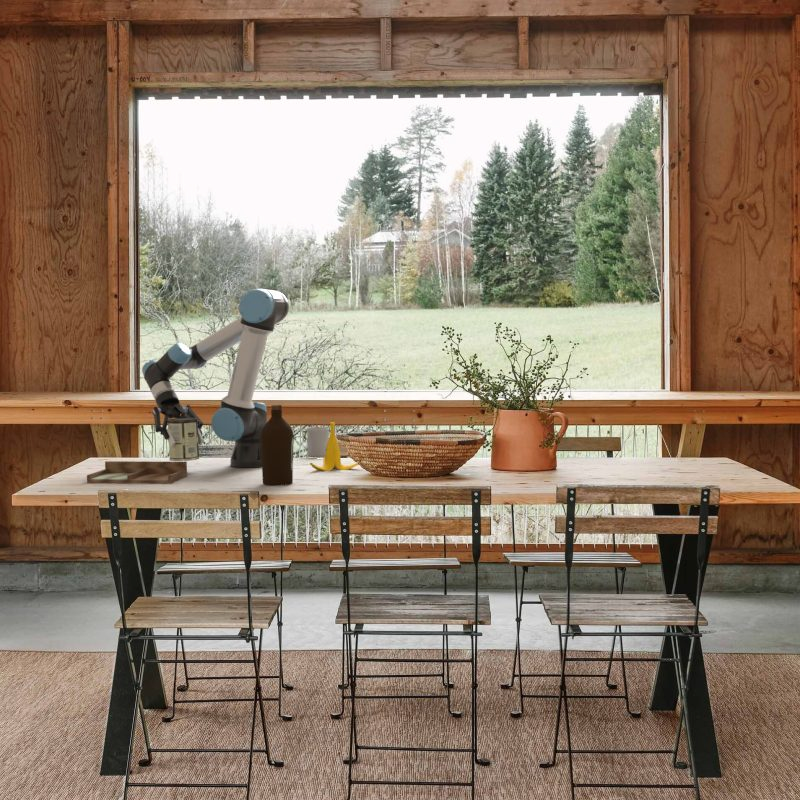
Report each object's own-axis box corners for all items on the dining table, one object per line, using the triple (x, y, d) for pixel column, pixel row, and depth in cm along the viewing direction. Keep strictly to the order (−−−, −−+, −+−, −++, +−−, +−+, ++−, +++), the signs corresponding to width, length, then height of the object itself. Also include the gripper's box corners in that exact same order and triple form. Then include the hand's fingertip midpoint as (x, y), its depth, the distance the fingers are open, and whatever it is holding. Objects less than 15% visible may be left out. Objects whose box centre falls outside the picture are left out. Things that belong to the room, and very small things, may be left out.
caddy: (187, 476, 330) (186, 461, 330) (171, 483, 314) (171, 467, 314) (106, 475, 333) (106, 461, 332) (87, 482, 317) (86, 467, 316)
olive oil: (264, 487, 305) (263, 406, 303) (257, 482, 315) (256, 404, 313) (298, 485, 308) (297, 405, 307) (290, 480, 318) (288, 403, 317)
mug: (323, 457, 379) (323, 429, 378) (303, 457, 382) (303, 428, 381) (336, 454, 390) (335, 426, 390) (316, 453, 393) (316, 426, 392)
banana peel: (309, 472, 338) (308, 424, 337) (324, 465, 357) (323, 419, 356) (355, 473, 335) (355, 424, 334) (368, 466, 354) (368, 420, 352)
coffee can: (179, 457, 345) (177, 417, 345) (205, 457, 342) (203, 417, 341) (163, 461, 336) (161, 419, 335) (189, 461, 332) (187, 420, 332)
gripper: (191, 402, 357) (213, 448, 346) (132, 406, 343) (154, 454, 331) (197, 388, 352) (220, 434, 341) (138, 391, 338) (160, 439, 327)
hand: (187, 444), depth 336 cm, fingers closed on coffee can, 10 cm apart
